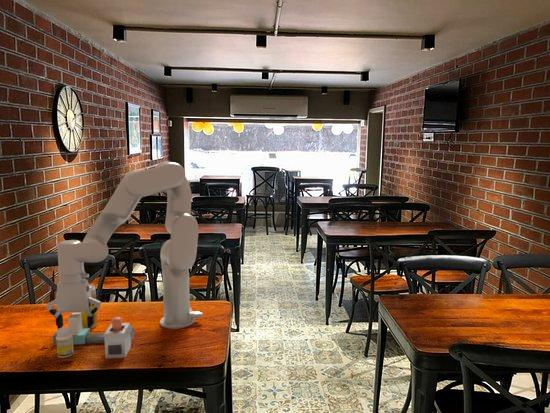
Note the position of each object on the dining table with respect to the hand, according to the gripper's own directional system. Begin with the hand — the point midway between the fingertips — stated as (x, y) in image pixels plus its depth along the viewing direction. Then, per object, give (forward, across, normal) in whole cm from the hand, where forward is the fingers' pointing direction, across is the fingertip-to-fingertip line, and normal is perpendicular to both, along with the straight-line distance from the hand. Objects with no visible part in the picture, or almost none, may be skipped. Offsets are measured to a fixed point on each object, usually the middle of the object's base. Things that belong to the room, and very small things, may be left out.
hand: (75, 327), depth 146 cm
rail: (+5, -6, 0) cm, 8 cm away
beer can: (+5, 0, -13) cm, 14 cm away
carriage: (+5, 0, 0) cm, 5 cm away
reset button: (-2, -16, +9) cm, 18 cm away
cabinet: (+5, -16, +9) cm, 19 cm away
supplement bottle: (+5, 0, +9) cm, 10 cm away
